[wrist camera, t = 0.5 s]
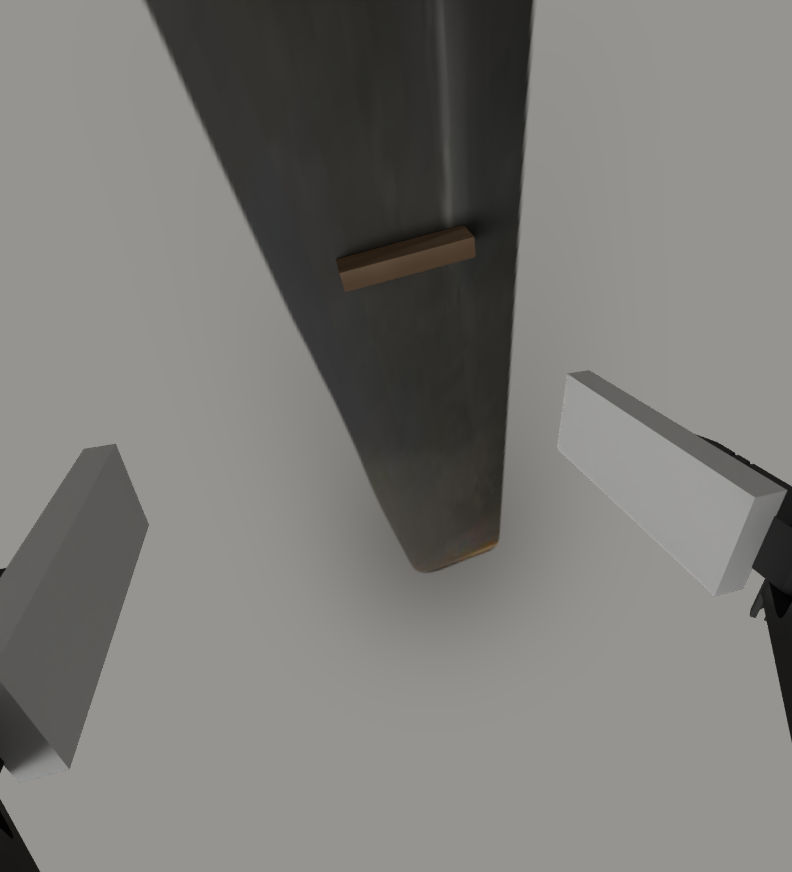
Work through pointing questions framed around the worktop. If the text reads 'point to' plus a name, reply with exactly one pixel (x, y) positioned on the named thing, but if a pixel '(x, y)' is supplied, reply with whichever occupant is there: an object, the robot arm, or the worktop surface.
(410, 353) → the worktop surface
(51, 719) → the robot arm
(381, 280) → the parallel wooden rails
